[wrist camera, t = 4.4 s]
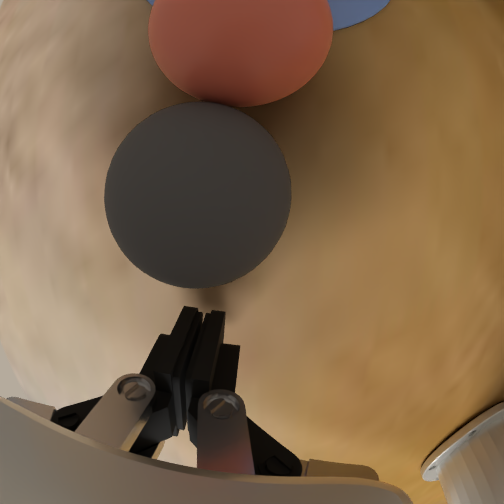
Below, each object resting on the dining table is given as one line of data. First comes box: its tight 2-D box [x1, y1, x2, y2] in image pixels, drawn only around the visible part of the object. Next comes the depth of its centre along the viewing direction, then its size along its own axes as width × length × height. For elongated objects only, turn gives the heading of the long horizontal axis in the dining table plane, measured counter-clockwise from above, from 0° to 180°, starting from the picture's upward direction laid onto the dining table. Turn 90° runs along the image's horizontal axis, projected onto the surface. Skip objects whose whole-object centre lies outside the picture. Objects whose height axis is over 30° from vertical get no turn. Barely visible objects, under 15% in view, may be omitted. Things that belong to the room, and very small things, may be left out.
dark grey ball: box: [104, 102, 291, 288], centre depth 8 cm, size 6×6×6 cm
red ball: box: [148, 0, 333, 107], centre depth 7 cm, size 6×6×6 cm
